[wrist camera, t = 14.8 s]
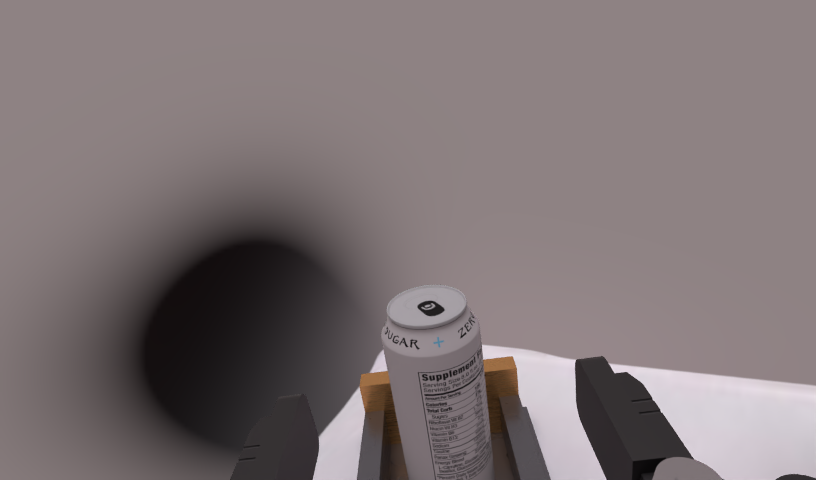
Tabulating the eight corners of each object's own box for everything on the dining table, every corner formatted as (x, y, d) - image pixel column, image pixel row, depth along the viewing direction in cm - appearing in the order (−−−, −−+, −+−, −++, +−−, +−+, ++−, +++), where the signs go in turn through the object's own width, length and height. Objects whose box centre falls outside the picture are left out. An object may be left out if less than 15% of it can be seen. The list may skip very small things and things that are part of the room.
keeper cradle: (526, 415, 40) (522, 347, 37) (583, 589, 27) (582, 502, 24) (365, 434, 41) (350, 367, 38) (345, 611, 28) (320, 529, 25)
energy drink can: (463, 441, 37) (442, 271, 32) (514, 496, 32) (498, 305, 27) (397, 478, 35) (361, 302, 29) (439, 544, 30) (406, 345, 24)
